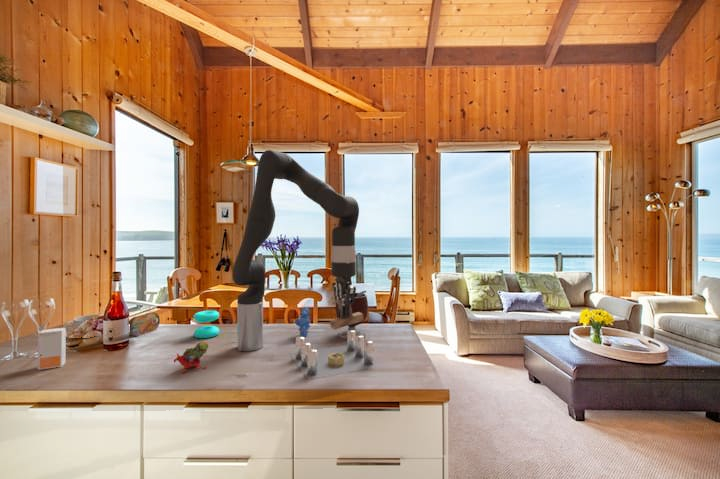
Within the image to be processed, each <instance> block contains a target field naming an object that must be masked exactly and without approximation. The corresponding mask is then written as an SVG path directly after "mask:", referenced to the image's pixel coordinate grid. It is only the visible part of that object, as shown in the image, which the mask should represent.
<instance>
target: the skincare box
mask: <svg viewBox="0 0 720 479" xmlns="http://www.w3.org/2000/svg"><path fill="white" fill-rule="evenodd" d="M66 333H67V331H66V328H63V327H57V328H49V329H48V328H47V329H42V330H41V331H39V332H37V370H38V371H40V370H48V369H56V367H57V368H63V366H64V365H65V364H66V356H67V355H66V350H67V349H66V346H67V345H66V338H67V336H66V335H67V334H66Z"/></svg>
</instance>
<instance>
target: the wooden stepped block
mask: <svg viewBox="0 0 720 479" xmlns="http://www.w3.org/2000/svg"><path fill="white" fill-rule="evenodd" d="M337 300H338V306H339V311H340V317H339V318H337V317H336V318H333V319H330V320H329V323H330V328H331V329H333V330H337V329H341V328H344V327H349V326H348V325H351V324H354V323H358V322H361V321H364V322H365V320H364V317H363V314H362V313H360V312H357V313H353V314H352V308H351V305H350V317H349V318H343V317H342V298H340V299H337Z"/></svg>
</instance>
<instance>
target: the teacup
mask: <svg viewBox="0 0 720 479" xmlns="http://www.w3.org/2000/svg"><path fill="white" fill-rule="evenodd" d="M97 315H98V314H87V315H80V316H76V317H74V318H73V319H72V320H69V321H65V322H64V324H63V326H62V328H66V333H67V332H68V333H71V332H70V331H73V330H75V329H77V328H78V326H79V325H80V324H82V323H83V322H85V321H86V320H89V319H91V318H93V317H95V316H97ZM69 324H71V325H72V327H73V328H72V329H69V328H67V326H68V325H69Z"/></svg>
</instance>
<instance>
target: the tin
mask: <svg viewBox="0 0 720 479" xmlns="http://www.w3.org/2000/svg"><path fill="white" fill-rule="evenodd" d="M128 322H129V324H130V334H131V335H130V334H129V335H130V336H132V337H134V336H135V337H140V336H139V335H141V336H143V335H146V334H149V333H152V332H154V331H156V330H157V329H158V327H159V325H160V322H161V319H160V316H159V314H158V313H157V312H155V311H153V312H146V313H143V314H140V315H136V316H133V317H132V318H130V319H129V321H128ZM151 331H152V332H151ZM148 332H149V333H148ZM145 333H146V334H145ZM142 334H143V335H142Z"/></svg>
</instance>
